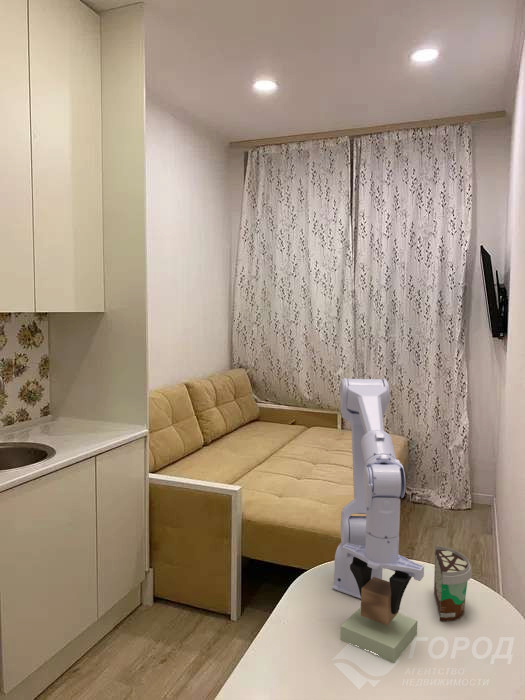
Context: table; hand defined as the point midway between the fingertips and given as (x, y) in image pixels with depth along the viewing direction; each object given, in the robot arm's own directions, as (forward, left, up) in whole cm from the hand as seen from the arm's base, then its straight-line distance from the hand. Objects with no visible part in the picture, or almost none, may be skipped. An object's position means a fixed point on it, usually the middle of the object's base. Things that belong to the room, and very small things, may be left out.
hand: (380, 605), depth 94 cm
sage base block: (0, 0, -6) cm, 6 cm away
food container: (+8, +17, -6) cm, 20 cm away
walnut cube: (0, 0, -1) cm, 1 cm away
